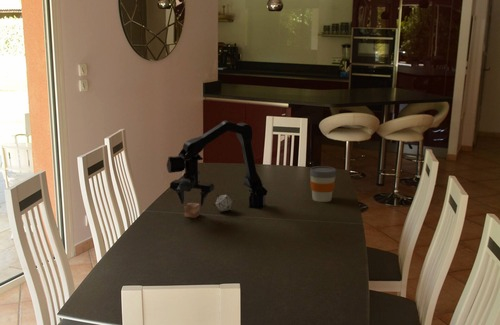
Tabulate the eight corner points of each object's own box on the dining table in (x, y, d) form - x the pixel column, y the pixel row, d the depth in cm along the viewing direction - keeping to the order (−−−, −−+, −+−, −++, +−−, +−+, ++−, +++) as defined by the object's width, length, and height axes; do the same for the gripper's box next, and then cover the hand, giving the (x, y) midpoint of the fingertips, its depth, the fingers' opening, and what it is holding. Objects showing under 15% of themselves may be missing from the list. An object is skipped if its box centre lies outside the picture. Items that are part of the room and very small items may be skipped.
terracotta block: (199, 214, 244) (199, 203, 243) (195, 218, 239) (195, 207, 238) (189, 213, 245) (189, 202, 244) (184, 216, 241) (184, 206, 240)
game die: (219, 219, 248) (206, 203, 246) (228, 208, 254) (215, 191, 252) (232, 214, 242) (218, 197, 240) (241, 202, 248) (228, 185, 246)
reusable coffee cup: (334, 195, 272) (335, 166, 269) (335, 203, 260) (337, 172, 257) (308, 194, 274) (309, 165, 270) (308, 202, 261) (310, 172, 258)
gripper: (163, 172, 233) (164, 208, 237) (204, 177, 227) (204, 213, 231) (175, 166, 243) (176, 200, 247) (214, 170, 237) (214, 205, 241)
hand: (192, 204), depth 241 cm, fingers open, 9 cm apart
